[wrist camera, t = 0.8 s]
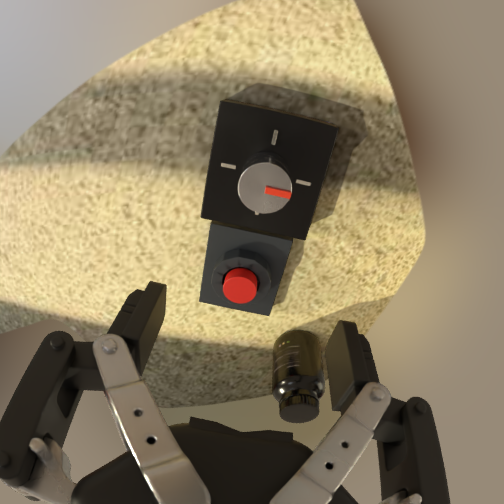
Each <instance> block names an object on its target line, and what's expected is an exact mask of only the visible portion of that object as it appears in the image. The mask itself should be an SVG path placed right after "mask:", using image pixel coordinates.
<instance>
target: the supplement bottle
mask: <svg viewBox="0 0 504 504" xmlns="http://www.w3.org/2000/svg"><path fill="white" fill-rule="evenodd" d="M324 392H325V380H324V371H323V363H322V354H321V347H320V343H319V340H318V339H317V338H316V337H315V336H314V335H313V334H311V333H309V332H306V331H290V332H287V333H285V334H283V335H281V336H280V337H279V338H278V339H277V340H276V342H275V344H274V348H273V373H272V393H273V396H274V397H275V399H276V400H277V401H278V402H279V408H280V417H281V418H282V419H283V420H285V421H287V422H291V423H304V422H308V421H311V420H313V419H315V418H316V417H317V416H318V414H319V400H320V399H321V397H322V396H323V394H324Z"/></svg>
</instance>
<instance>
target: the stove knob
mask: <svg viewBox="0 0 504 504" xmlns="http://www.w3.org/2000/svg"><path fill="white" fill-rule="evenodd" d="M238 194H239V197H240V199H241V201H242V202H243V204H244V205H245V206H246V207H248V208H249V209H250V210H252V211H255V212H257V213H263V214H267V213H273V212H276V211H278V210H280V209H281V208H283V207H284V206H285V205H286V204H287V202H288V201H289V199H290V197H291V194H292V183H291V177H290V171H289V167H288V164H287V163H286V161H285V160H284V159H283V158H282V157H281V156H280V155H278V154H276V153H274V152H269V151H263V152H258V153H256V154H254V155H252V156H251V157H250V158H249V159H248V160H247V161H246V163H245V165H244V167H243V170H242V173H241V176H240V178H239V182H238Z"/></svg>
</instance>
